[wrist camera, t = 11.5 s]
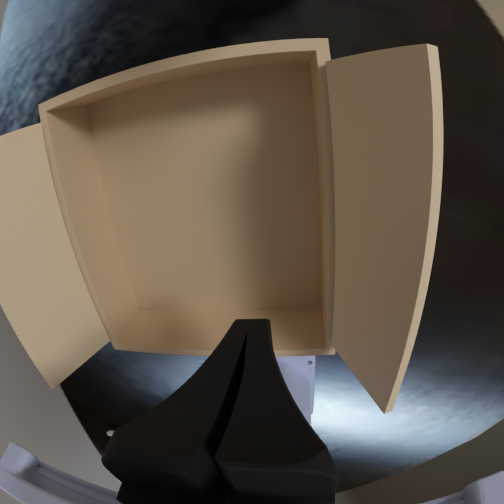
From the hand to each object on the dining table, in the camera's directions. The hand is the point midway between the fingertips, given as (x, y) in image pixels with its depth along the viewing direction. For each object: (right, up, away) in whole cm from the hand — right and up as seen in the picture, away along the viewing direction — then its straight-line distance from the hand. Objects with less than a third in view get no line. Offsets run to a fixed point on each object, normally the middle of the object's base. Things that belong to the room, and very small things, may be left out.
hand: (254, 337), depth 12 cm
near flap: (+5, +3, 0) cm, 6 cm away
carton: (-3, +7, +8) cm, 11 cm away
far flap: (-13, +3, +3) cm, 13 cm away
